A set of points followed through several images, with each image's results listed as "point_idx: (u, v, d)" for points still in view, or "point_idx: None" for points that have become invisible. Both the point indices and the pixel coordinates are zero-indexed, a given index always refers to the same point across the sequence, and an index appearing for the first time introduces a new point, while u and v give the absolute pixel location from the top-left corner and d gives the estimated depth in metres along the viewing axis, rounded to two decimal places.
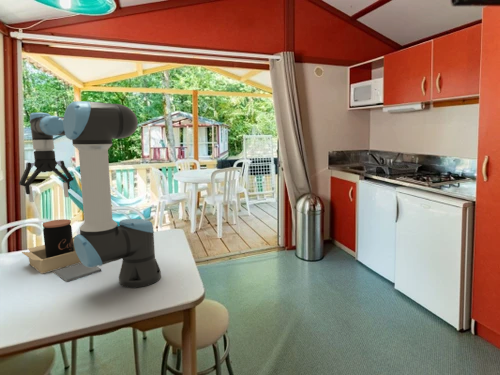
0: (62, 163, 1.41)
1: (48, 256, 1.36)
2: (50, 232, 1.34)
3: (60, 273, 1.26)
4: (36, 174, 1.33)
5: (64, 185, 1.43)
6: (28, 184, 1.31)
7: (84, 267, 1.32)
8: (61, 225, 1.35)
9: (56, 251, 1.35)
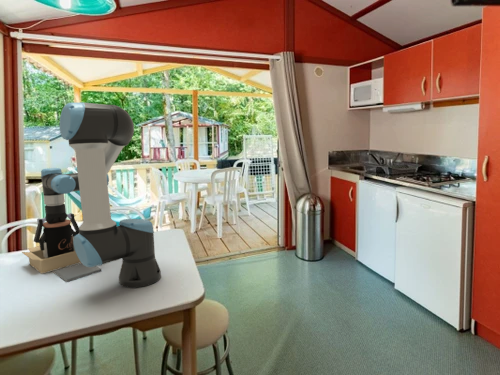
0: (72, 216, 1.42)
1: (48, 256, 1.36)
2: (50, 231, 1.34)
3: (60, 273, 1.26)
4: None
5: None
6: (42, 241, 1.34)
7: (84, 267, 1.32)
8: (61, 225, 1.35)
9: (56, 251, 1.35)
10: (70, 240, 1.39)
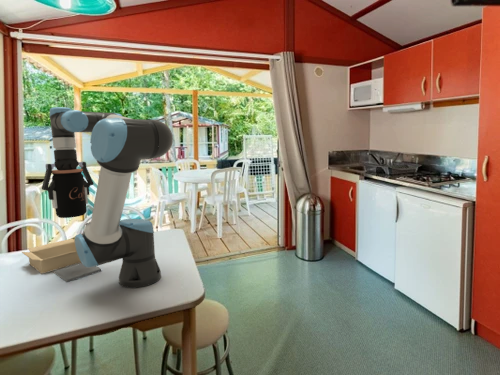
0: (84, 164, 1.27)
1: (58, 206, 1.21)
2: (59, 178, 1.19)
3: (60, 273, 1.26)
4: None
5: None
6: (52, 188, 1.19)
7: (84, 267, 1.32)
8: (72, 171, 1.20)
9: (67, 201, 1.20)
10: (82, 190, 1.24)
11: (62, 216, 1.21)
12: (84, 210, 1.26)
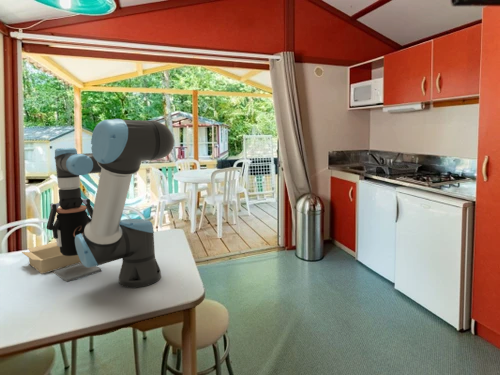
0: (88, 202, 1.29)
1: (62, 245, 1.23)
2: (64, 218, 1.21)
3: (60, 273, 1.26)
4: None
5: None
6: (56, 228, 1.21)
7: (84, 267, 1.32)
8: (76, 211, 1.22)
9: (71, 240, 1.22)
10: None
11: (66, 254, 1.23)
12: None
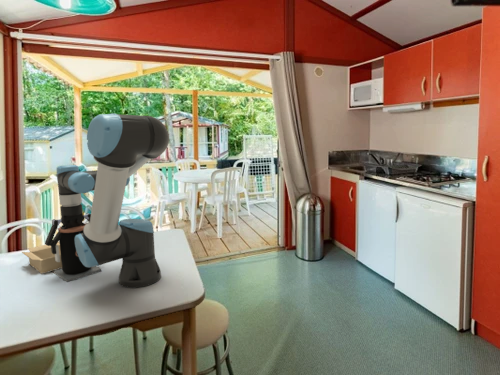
0: (89, 217, 1.30)
1: (64, 264, 1.24)
2: (66, 237, 1.22)
3: (60, 273, 1.26)
4: None
5: None
6: (54, 243, 1.21)
7: None
8: (78, 230, 1.23)
9: (73, 259, 1.23)
10: None
11: (68, 273, 1.24)
12: None
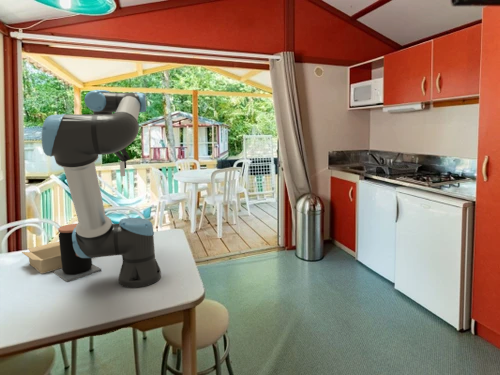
0: None
1: (64, 264, 1.24)
2: (66, 237, 1.22)
3: (60, 273, 1.26)
4: None
5: (121, 164, 1.44)
6: None
7: None
8: None
9: (73, 259, 1.23)
10: None
11: (68, 273, 1.24)
12: (90, 265, 1.29)
